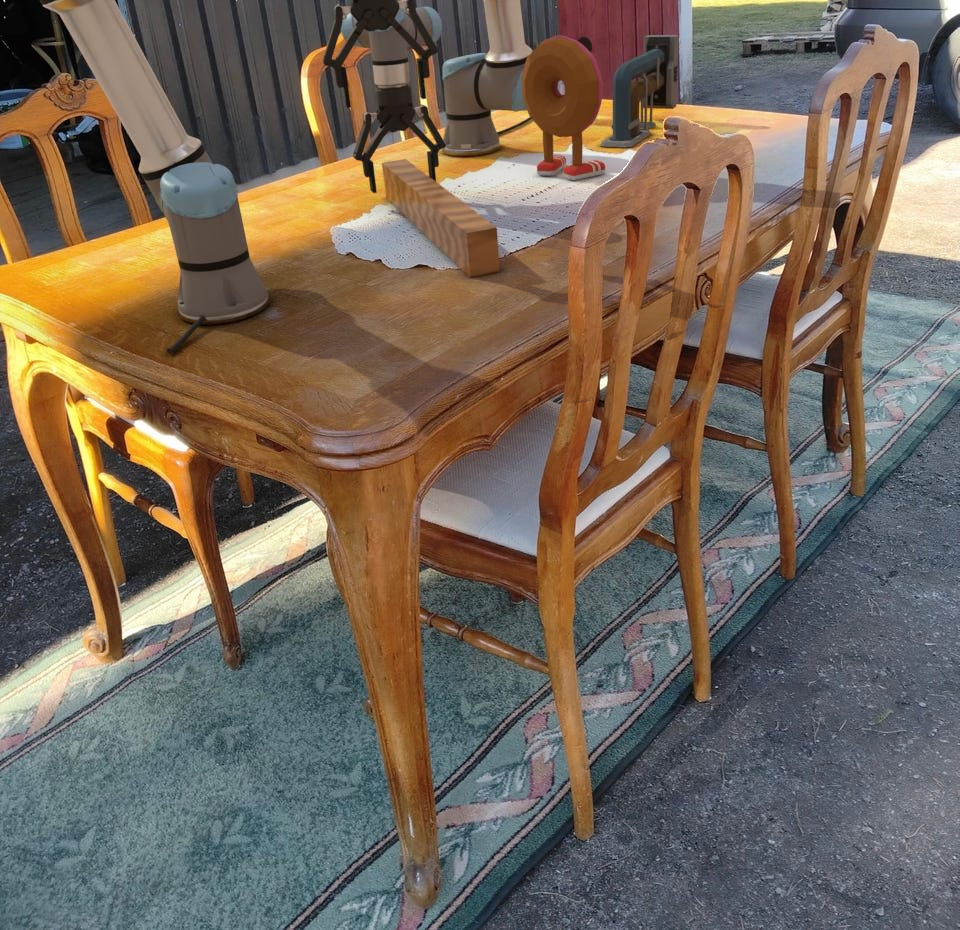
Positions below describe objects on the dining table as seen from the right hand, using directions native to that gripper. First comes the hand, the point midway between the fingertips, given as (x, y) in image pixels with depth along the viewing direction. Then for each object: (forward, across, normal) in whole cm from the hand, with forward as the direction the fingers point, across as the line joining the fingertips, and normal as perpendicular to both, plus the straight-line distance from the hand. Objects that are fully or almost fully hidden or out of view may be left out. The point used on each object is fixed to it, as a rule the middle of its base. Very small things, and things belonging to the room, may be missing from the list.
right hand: (403, 187), depth 213 cm
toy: (+3, -40, -2) cm, 40 cm away
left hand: (-23, +9, +30) cm, 39 cm away
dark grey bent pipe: (+3, -74, -31) cm, 80 cm away
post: (+4, 0, +23) cm, 23 cm away
